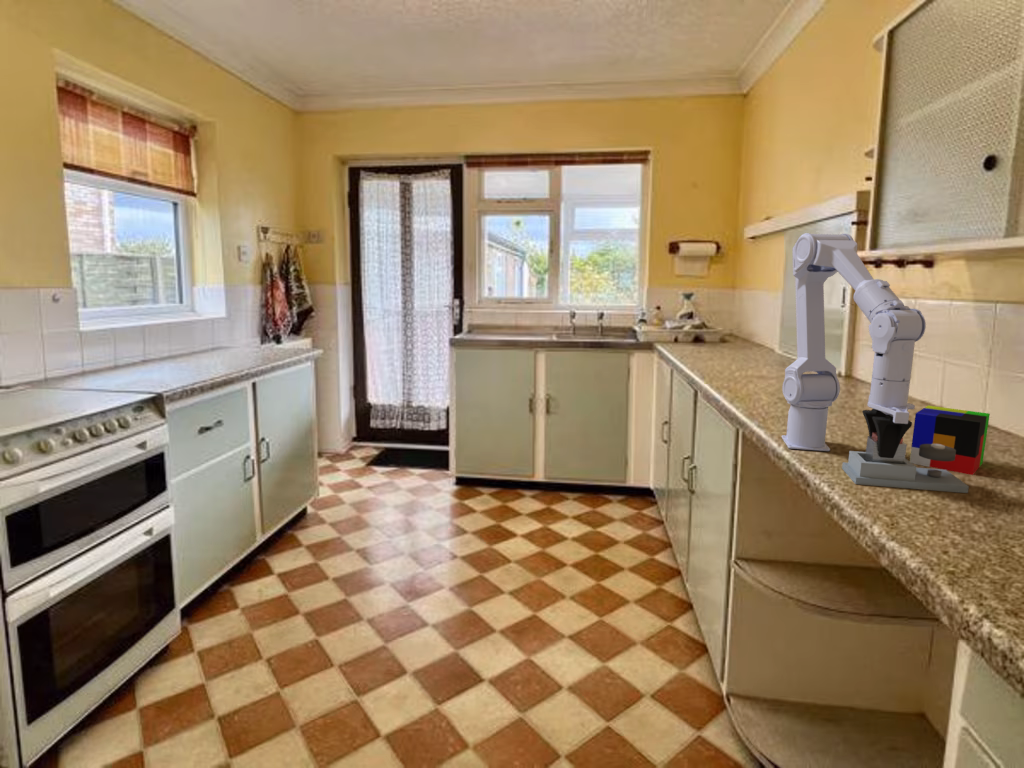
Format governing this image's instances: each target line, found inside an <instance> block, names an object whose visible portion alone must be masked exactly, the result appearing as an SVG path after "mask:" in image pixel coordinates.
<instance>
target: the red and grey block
mask: <svg viewBox="0 0 1024 768" xmlns="http://www.w3.org/2000/svg"><path fill="white" fill-rule="evenodd" d="M907 447H908V444H907V443H905V442H904V437H903V438H902V439H901V441H900V444H899V446H898V448H897V451H896V453H895V456H894V457H893V458H882V457H880V456H879V452H878V436H877V432H873V433H872V437H871V436H869V435H868V436H867V440H866V447H865V452H866V454H865V461H866V462H878V463H892V464H904V461H905V458H906V453H907Z"/></svg>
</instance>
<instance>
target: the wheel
mask: <svg viewBox="0 0 1024 768" xmlns="http://www.w3.org/2000/svg"><path fill="white" fill-rule="evenodd" d="M955 455H956V450H955V449H954V448H951V447H948V446H944V445H941V444H921V445H920V448H919V456H921V457H923V458H927V459H931V460H936V461H954V460H955Z"/></svg>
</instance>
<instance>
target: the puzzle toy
mask: <svg viewBox="0 0 1024 768" xmlns="http://www.w3.org/2000/svg"><path fill="white" fill-rule="evenodd" d="M989 420H990V413H989V412H988V413H987V412H981V411H973V410H964V409H957V408H949V407H944V406H943V407H942V406H934V405H927V406H925V407H924V408H921V409H920V410H919V411H917V412H916V413H915V414H914V422H913V423H914V424H913V430H912V431H913V432H912V438H911V439H912V440H911V449H910V455H909V461H910V462H911V463H912V464H914V465H918V466H924V467H929V468H932V469H942V470H947V471H948V472H949V471H950V472H954V473H959V474H960V473H961V474H965V475H971V476H973V475H974V474H975V473H976V472H977V471H978V470H979V469H980V467H981V466H982V465H983V461H984V456H985V451H986V450H985V448H986V443H987V435H988V430H989V429H988V428H989V423H990V422H989ZM921 444H941V445H944V446H948V447H951V448H954V449H955V450H956V455H955V460H954V461H936V460H931V459H927V458H923V457H921V456H919V448H920V445H921Z"/></svg>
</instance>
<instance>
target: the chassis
mask: <svg viewBox="0 0 1024 768" xmlns="http://www.w3.org/2000/svg"><path fill="white" fill-rule="evenodd" d="M865 454H866V451H854V450H849V452H848V461H847V462H844V461H843V462H842V464H841V469H842V470H843V472H844V473H845V474H846V475H847V476H848V477H849V478H850V479H851V481H852V482H853V483H854V484H855V485H863V486H874V487H887V488H899V489H900V488H901V489H912V490H924V491H925V490H927V491H936V492H937V491H938V492H950V493H963V494H969V488H970V486H969V485H968V484H966V483H965V482H963V481H962V480H961V479H959V478H958V477H956V476H955V475H954V474H953V473H951V471H950V472H949V470H944V469H938V468H927V467H926V468H925V467H917V466H916V464H912V463H911V462H910V460H909V459H907V458H906V457H905V461H904V464H892V463H878V462H866V461H865Z"/></svg>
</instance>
